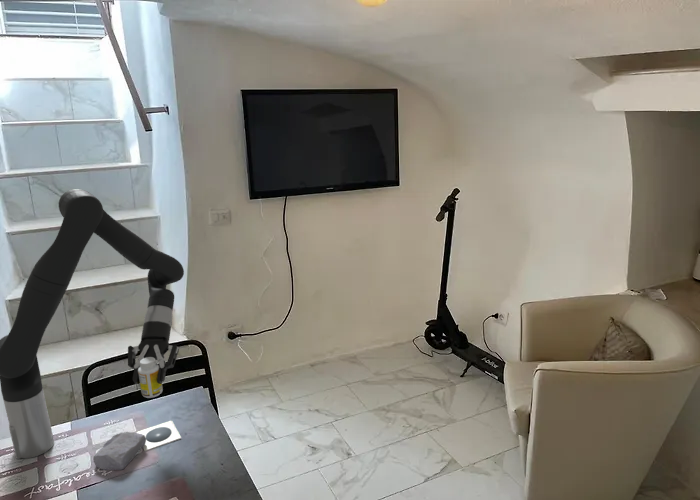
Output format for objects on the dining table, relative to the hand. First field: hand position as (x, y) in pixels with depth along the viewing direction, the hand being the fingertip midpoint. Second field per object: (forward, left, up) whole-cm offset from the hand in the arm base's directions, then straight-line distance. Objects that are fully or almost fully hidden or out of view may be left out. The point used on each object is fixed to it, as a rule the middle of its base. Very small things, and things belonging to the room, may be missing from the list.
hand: (148, 383), depth 145 cm
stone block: (-10, -1, -18) cm, 21 cm away
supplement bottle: (+1, +2, -4) cm, 5 cm away
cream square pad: (+1, +2, -18) cm, 18 cm away
